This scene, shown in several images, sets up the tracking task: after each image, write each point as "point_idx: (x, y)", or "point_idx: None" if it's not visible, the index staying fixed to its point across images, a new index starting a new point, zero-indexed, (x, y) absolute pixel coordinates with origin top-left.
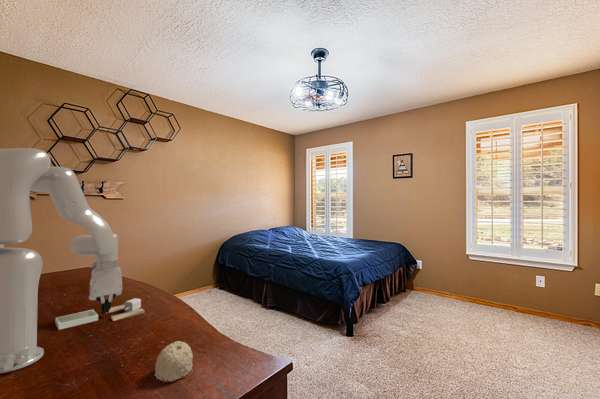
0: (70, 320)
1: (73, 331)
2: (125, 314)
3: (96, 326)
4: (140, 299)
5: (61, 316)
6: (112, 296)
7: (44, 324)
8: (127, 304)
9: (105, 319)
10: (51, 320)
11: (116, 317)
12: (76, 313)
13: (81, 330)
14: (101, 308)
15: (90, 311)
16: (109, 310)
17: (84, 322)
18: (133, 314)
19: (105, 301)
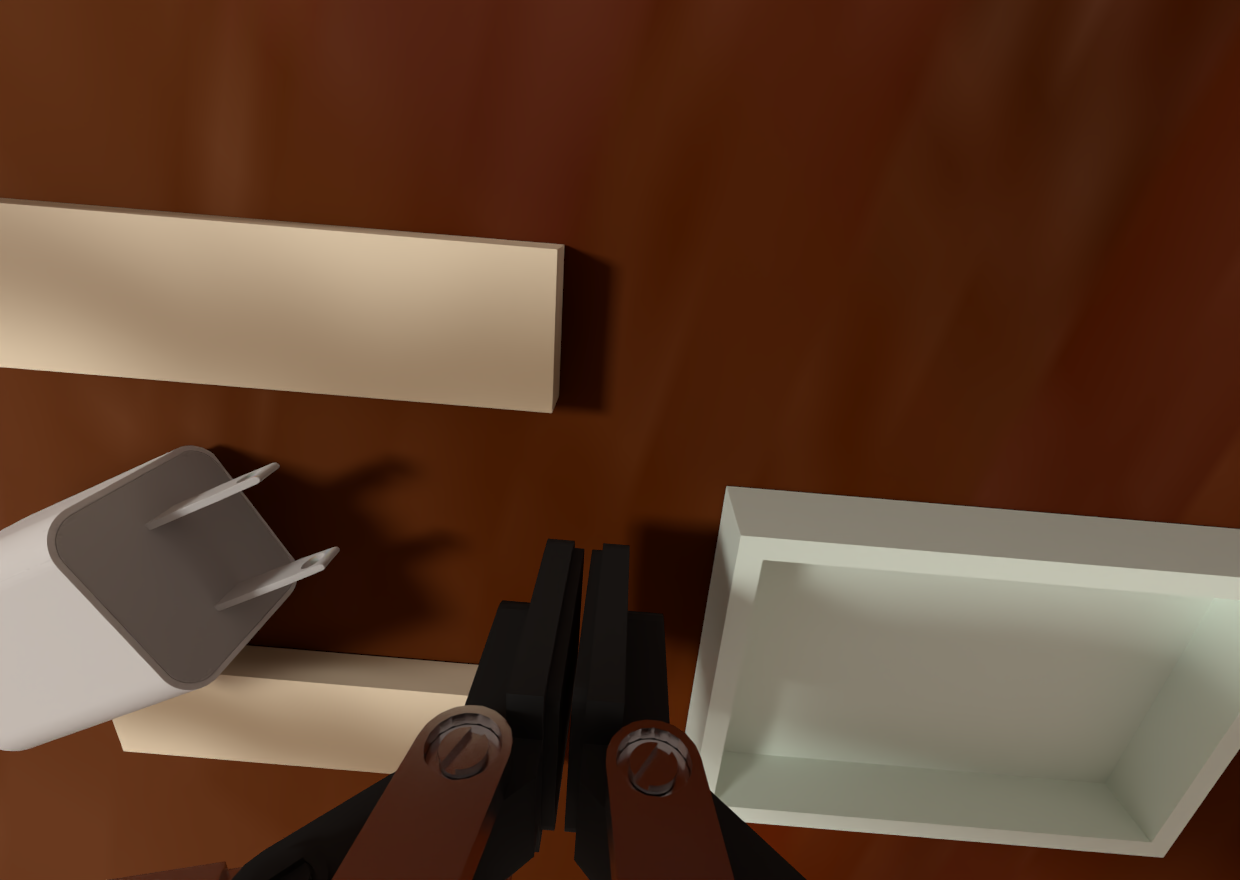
0: (996, 716)
1: (1205, 279)
2: (312, 280)
3: (869, 202)
4: None
5: (1097, 846)
6: (354, 858)
7: None
8: (180, 605)
9: (633, 435)
10: (1067, 876)
11: (495, 242)
12: (917, 822)
13: (1116, 212)
14: (662, 660)
15: (730, 790)
16: None
17: (926, 510)
18: (177, 218)
19: (581, 771)
